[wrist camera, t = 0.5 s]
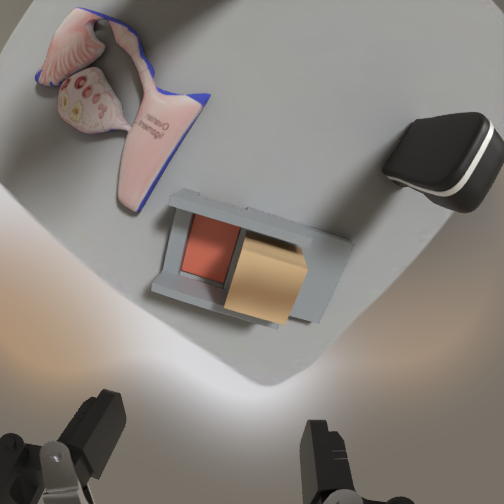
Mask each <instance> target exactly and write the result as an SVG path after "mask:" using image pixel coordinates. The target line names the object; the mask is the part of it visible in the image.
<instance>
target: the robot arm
mask: <svg viewBox="0 0 504 504" xmlns="http://www.w3.org/2000/svg"><path fill="white" fill-rule="evenodd" d="M125 424H126V414H125V410H124V405H123V402H122V397H121V394H120V393H117V392H114V391H110V390H107V389H103V390H102V391H101V392H100V394H99V395H98V397H97V398H95V397H91V398H89V399H88V400H86V401H85V402H83V404H82V405H81V407H80V408H79V410H78V412H76V414H75V415H74V418H72V420H71V421H70V422H69V424H68V425H67V427H66V428H65V430H64V431H63V433H62V434H61V436H60V437H59V439H58V440H57V441H51V442H48V443H45V444H44V445H43V446H38V445H32V444H26V443H24V441H23V439H22V438H21V437H20V436H19V435H17V434H14V433H8V434H5V435H3V436H2V437H1V438H0V504H37V503H38V501H39V499H40V497H41V495H42V493H43V491H44V489H45V488H46V493H44V494H43V501H44V504H95V501H94V498H93V495H92V492H91V489H90V487H89V484H88V481H89V479H90V477H93V478H96V479H98V480H99V478H100V476H101V474H102V472H103V470H104V468H105V466H106V464H107V462H108V460H109V458H110V456H111V454H112V452H113V450H114V448H115V446H116V444H117V442H118V440H119V438H120V436H121V433H122V431H123V430H124V427H125ZM347 458H348V457H347V453H346V449H345V444H344V440H343V439H342V437H341V436H340V435H339V433H338V432H336V431H332V432H329V431H328V426H327V422H326V420H308V421H307V423H306V426H305V430H304V433H303V436H302V439H301V443H300V464H301V479H302V494H303V504H414V502H413V501H411V500H410V499H409V498H406V497H395V498H392V499H390V500H389V501H388V502H379V501H372V500H367V499H365V498H363V497H361V496H360V495H359V494H358V493H357V492H356V491H355V489H354V486H353V481H352V476H351V471H350V467H349V462H348V460H347Z"/></svg>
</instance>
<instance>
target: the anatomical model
mask: <svg viewBox="0 0 504 504" xmlns="http://www.w3.org/2000/svg"><path fill="white" fill-rule="evenodd" d="M101 19H106V20H108V22H109V24H110V25H111V28H112V30H113V34H114V37H115V40H116V43H117V44H118V45H119V46H120V47H122V48H123V49H124V50H125V51H126V52H127V53H128V54H129V55H130V56H131V58H132V60H133V61H134V63H135V65H136V68H137V70H138V73H139V77H140V80H141V84H142V86H143V92H144V96H143V99H142V103H141V105H140V108H139V111H138V114H137V117H136V119H135V122H134V124H133V126H130V125H129V124H128V122H127V121H126V120H125V118H124V116H123V109H122V104H121V102H120V100H119V99H118V98H117V97H116V95H115V94H114V91H113V90H112V88H111V86H110V85H109V84H108V82H107V80H106V78H105V76H104V73H103V72H102V71H101V70H100V69H99V68H98V67H90V68H87V69H85V68H86V67H88V66H89V65H90V64H92V63H93V62H94V61H95V60H97V59H98V58H99V57H100V56H101V55H102V53H103V52H104V50H105V44H103V43H102V42H101V41H99V40H98V39H97V38H96V36H95V34H94V30H93V27H94V24H95V23H96V22H97V21H99V20H101ZM83 69H84V70H83ZM154 78H155V77H154V69H153V67H152V65H151V64H150V62H149V61H148V59H147V58H146V57H145V55H144V52H143V49H142V44H141V42H140V39H139V36H138V34H137V32H136V31H135V30H133V29H132V28H131V27H129V26H128V25H126V24H125V23H123V22H121V21H119V20H116V19H114V18H112V17H109V16H107V15H104V14H101V13H98V12H95V11H92V10H88V9H85V8H75V9H74V10H73V11H71V12H70V13H69V14H68V16H67V17H66V18H65V19H64V20H63V22H62V23H61V25H60V26H59V27H58V29H57V31H56V32H55V34H54V36H53V38H52V41H51V43H50V46H49V50H48V53H47V56H46V60H45V62H44V64H43V66H42V67H41V68H40V69H39V70H38V72H37V73H36V75H35V81H36V82H37V83H38V84H40V85H43V86H58V85H60V84H62V85H61V86H60V90H59V96H58V104H57V105H58V112H59V115H60V116H61V118H62V119H63V120H64V121H66V122H67V123H68V124H70V125H71V126H73V127H74V128H76V129H77V130H79V131H81V132H83V133H85V134H97V133H103V132H109V131H114V130H125V131H127V132H128V135H127V137H126V140H125V144H124V148H123V153H122V158H121V165H120V173H119V183H118V199H119V201H120V202H121V203H122V204H123V205H124V206H126V207H127V208H129V209H130V210H132V211H134V212H140V211H141V209H142V208H143V206H144V204H145V202H146V201H147V199H148V197H149V196H150V194H151V192H152V190H153V189H154V187H155V185H156V184H157V182H158V180H159V178H160V177H161V175H162V173H163V172H164V170H165V168H166V167H167V165H168V163H169V162H170V160H171V158H172V157H173V155H174V154H175V152H176V150H177V149H178V147H179V145H180V144H181V142H182V141H183V139H184V137H185V135H186V134H187V133H188V131H189V129H190V128H191V126H192V125H193V123H194V122H195V120H196V119H197V117H198V115H199V114H200V112H201V111H202V109H203V107H204V106H205V104H206V103H207V101H208V99H209V98H210V95H211V94H186V95H183V94H176V93H171V92H167V91H164V90H162V89H160V88H158V87H157V86H156V84H155V80H154Z"/></svg>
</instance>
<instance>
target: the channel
mask: <svg viewBox="0 0 504 504" xmlns="http://www.w3.org/2000/svg"><path fill="white" fill-rule="evenodd" d="M199 194H200V193H199V192H195V191H192V190H188V189H185V188H184V189H182V190H180V191H178V192H176V193H174V194H172V195H170V198H169V202H168V205H169V206H172V207H176V211H175V215H174V220H173V224H172V229H171V233H170V238H169V242H168V247H167V252H166V256H165V261H164V266H163V270H162V271H161V273H160V274H159V275H158V276H157V278H156V279H155V280H154V281H153V283H152V287H151V291H153V292H156V293H159V294H162V295H165V296H168V297H171V298H174V299H177V300H180V301H183V302H186V303H189V304H192V305H195V306H198V307H202V308H205V309H208V310H211V311H215V312H218V313H221V314H225V315H228V316H231V317H235V318H238V319H242V320H245V321H249V322H252V323H256V324H259V325H263V326H267V327H270V328H274V329H277V328H278V325H279V324H278V323H275V322H271V321H267V320H264V319H260V318H257V317H253V316H250V315H246V314H243V313H239V312H236V311H232V310H229V309H226V308H224V305H225V302H226V298H227V294H228V290H229V287H230V283H231V280H232V276H233V273H234V270H235V267H236V263H237V260H238V257H239V254H240V250H241V247H242V244H243V241H244V238H245V234H246V231H248V232H251V233H255V234H258V235H261V236H264V237H268V238H271V239H274V240H277V241H280V242H284V243H287V244H290V245H293V246H296V247H299V248H301V249H302V252H303V255H304V259H305V262H306V265H307V268H308V271H307V274H306V276H305V279H304V281H303V283H302V286H301V288H300V291H299V293H298V296H297V298H296V300H295V303H294V305H293V308H292V310H291V312H290V315H289V316H292V317H296V318H300V319H303V320H307V321H311V322H315V323H320V320H321V318H322V316H323V314H324V312H325V310H326V308H327V306H328V303H329V301H330V299H331V297H332V295H333V292H334V290H335V288H336V286H337V284H338V281H339V279H340V277H341V274H342V272H343V270H344V267H345V265H346V263H347V260H348V258H349V256H350V253H351V251H352V248H353V246H354V244H353V243H352V242H351V241H350V240H347V239H344V238H341V237H338V236H335V235H332V234H329V233H327V232H324V231H321V230H318V229H315V228H312V227H309V226H306V225H303V224H299V223H296V222H293V221H290V220H287V219H284V218H281V217H278V216H275V215H271V214H268V213H265V212H262V211H259V210H256V209H252V208H249V207H248V208H247V210H246V209H243V208H240V207H236V206H233V205H230V204H226V203H223V202H220V201H216V200H213V199H210V198H206V197H203V196H199ZM194 213H195V216H194ZM193 217H194V220H193ZM192 221H193V224H192ZM191 225H192V228H191ZM240 227H242V228H241V231H240ZM190 229H191V232H190ZM239 231H240V234H239ZM189 233H190V236H189ZM238 234H239V238H238V241H237V237H238ZM188 237H189V240H188ZM187 241H188V244H187ZM236 241H237V244H236ZM235 244H236V247H235ZM186 245H187V248H186ZM234 247H235V251H234V254H233V250H234ZM185 249H186V252H185ZM184 254H185V257H184ZM232 254H233V257H232ZM231 257H232V261H231V264H230V260H231ZM183 258H184V261H183ZM182 262H183V265H182ZM229 264H230V267H229ZM181 267H182V270H183V271H186V272H190V273H193V274H196V275H199V276H202V277H206V278H209V279H212V280H215V281H218V282H222V283H224V280H225V277H226V274H227V270H228V267H229V271H228V274H227V277H226V281H225V284H224V287H223V289H222V288H219V287H215V286H212V285H209V284H206V283H202V282H199V281H196V280H193V279H190V278H187V277H184V276H180V271H181Z"/></svg>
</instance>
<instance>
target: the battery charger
mask: <svg viewBox="0 0 504 504" xmlns="http://www.w3.org/2000/svg"><path fill="white" fill-rule="evenodd" d="M503 163H504V141H503V140H502V138H501V137H500V135H499V134H498V133H497V131H496V130H495V128H494V127H493V124H492V123H491V121H490V120H489V119H488V118H486V117H485V116H484V115H483V114H481V113H478V112H466V113H455V114H448V115H442V116H437V117H432V118H425V119H416V120H415V121H414V123H413V124H412V126H411V127H410V129H409V130H408V132H407V133H406V135H405V136H404V138H403V139H402V140H401V142H400V143H399V145H398V146H397V148H396V149H395V151H394V152H393V154H392V155H391V157H390V158H389V160H388V161H387V163H386V164H385V166H384V167H383V169H382V171H383V173H384V174H385V175H386V177H387V178H389V179H391V180H392V181H393V182H394V183H396V184H398V185H400V186H403V187H410V188H412V189H414V190H416V191H419V192H421V193H423V194H424V195H425V196H426V197H427V198H428V199H429V200H431V201H432V202H433V203H435V204H437V205H440V206H442V207H445V208H447V209H450V210H453V211H456V212H459V213H469V212H472V211H474V210H475V209H476V208H478V207H479V205H480V204H481V203H482V201H483V200H484V198H485V196H486V195H487V193H488V191H489V189H490V188H491V186H492V185H493V183H494V181H495V179H496V177H497V175H498V173H499V171H500V169H501V167H502V165H503Z"/></svg>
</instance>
